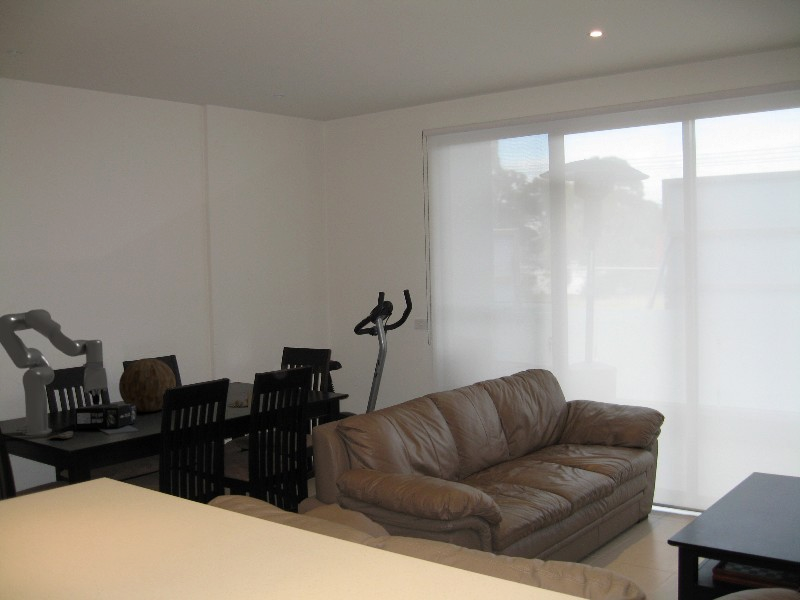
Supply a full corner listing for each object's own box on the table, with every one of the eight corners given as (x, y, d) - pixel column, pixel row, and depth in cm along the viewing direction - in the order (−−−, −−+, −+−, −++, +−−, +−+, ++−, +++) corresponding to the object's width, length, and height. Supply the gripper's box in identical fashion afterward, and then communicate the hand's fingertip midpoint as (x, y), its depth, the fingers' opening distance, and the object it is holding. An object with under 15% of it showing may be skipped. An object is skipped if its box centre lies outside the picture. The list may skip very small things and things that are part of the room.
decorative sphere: (163, 417, 417) (161, 360, 417) (110, 417, 421) (108, 361, 420) (185, 407, 447) (183, 355, 447) (135, 408, 451) (133, 356, 450)
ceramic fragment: (63, 436, 359) (47, 432, 363) (62, 443, 359) (47, 438, 364) (81, 432, 369) (66, 428, 373) (81, 438, 369) (66, 434, 373)
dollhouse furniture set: (245, 404, 455) (244, 386, 455) (261, 406, 447) (260, 387, 447) (228, 408, 445) (227, 388, 445) (244, 409, 437) (243, 390, 437)
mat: (108, 434, 370) (108, 433, 370) (95, 427, 390) (95, 426, 390) (138, 431, 378) (138, 429, 378) (123, 424, 398) (123, 423, 398)
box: (119, 427, 381) (137, 422, 400) (119, 407, 381) (136, 402, 400) (74, 428, 383) (93, 423, 402) (74, 408, 384) (93, 404, 403)
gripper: (80, 367, 371) (81, 406, 371) (112, 364, 379) (114, 402, 380) (76, 366, 377) (77, 404, 377) (108, 363, 385) (110, 401, 386)
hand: (96, 403), depth 379 cm, fingers closed
